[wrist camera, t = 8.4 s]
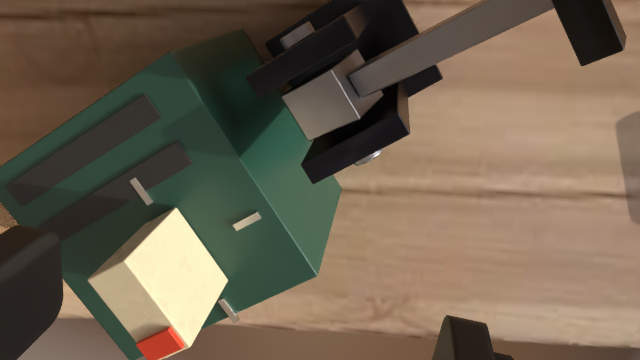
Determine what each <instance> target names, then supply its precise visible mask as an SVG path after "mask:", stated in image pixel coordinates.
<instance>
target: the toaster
mask: <svg viewBox="0 0 640 360" xmlns="http://www.w3.org/2000/svg"><path fill="white" fill-rule="evenodd" d="M263 65H264V63H263V61H262V59H261V58H260V56H259V55H258V53H257V51H256V50H255V48H254V46H253V45H252V43H251V42H250V40H249V38H248V37H247V35H246V34H245V32H244V30H243V29H239V30H236V31H233V32H230V33H227V34H223V35H220V36H217V37H214V38H211V39H208V40H205V41H201V42H198V43H195V44H192V45H189V46H186V47H183V48H179V49H176V50H173V51H170V52H168V53H166V54H165V55H163V56H162V57H160V58H159V59H157V60H156V61H154V62H153V63H151V64H150V65H148V66H147V67H146V68H144V69H143V70H141V71H140V72H138V73H137V74H135V75H134V76H132V77H131V78H129V79H128V80H126V81H125V82H124V83H122V84H121V85H119V86H118V87H116V88H115V89H113V90H112V91H110V92H109V93H107V94H106V95H104V96H103V97H102V98H100V99H99V100H97V101H96V102H94V103H93V104H91V105H90V106H88V107H87V108H85V109H84V110H83V111H81V112H80V113H78V114H77V115H75V116H74V117H72V118H71V119H69V120H68V121H66V122H65V123H63V124H62V125H61V126H59V127H58V128H56V129H55V130H53V131H52V132H50V133H49V134H47V135H46V136H44V137H43V138H41V139H40V140H39V141H37V142H36V143H34V144H33V145H31V146H30V147H28V148H27V149H25V150H24V151H22V152H21V153H19V154H18V155H17V156H15V157H14V158H12V159H11V160H9V161H8V162H6V163H5V164H3V165H2V166H0V202H1V203H2V204H3V206H4V207H5V208H6V209H7V211H8V212H9V213H10V214H11V215H12V217H13V218H14V219H15V220H16V222H17V223H18V224H19V225H22V226H27V227H32V228H37V229H39V228H38V226H39V225H41V224H42V223H44V222H46V221H47V220H49V219H51V218H52V217H54V216H55V215H57V214H59V213H60V212H62V211H64V210H65V209H67V208H69V207H70V206H72V205H73V204H75V203H77V202H78V201H80V200H82V199H83V198H85V197H87V196H88V195H90V194H91V193H93V192H95V191H96V190H98V189H100V188H101V187H103V186H105V185H106V184H108V183H110V182H111V181H113V180H114V179H116V178H118V177H119V176H121V175H123V174H124V173H126V172H128V171H129V170H131V169H132V168H134V167H136V166H137V165H139V164H141V163H142V162H144V161H146V160H147V159H149V158H150V157H152V156H154V155H155V154H157V153H159V152H160V151H162V150H164V149H165V148H167V147H168V146H170V145H172V144H173V143H175V142H177V141H179V143H180V144H181V146H182V147H183V148H184V150H185V151H186V153H187V154H188V156H189V157H190V159H191V160H192V161H193V164H192V165H190V166H188V167H187V168H185V169H183V170H182V171H180V172H178V173H177V174H175V175H173V176H171V177H170V178H168V179H166V180H165V181H163V182H161V183H159V184H158V185H156V186H154V187H153V188H151V189H149V190H148V191H145V190H144V189H143V187H142V186H141V184H140V183H139V182H138V180H137V179H136V178H133V179H132V180H130V183H131V184H132V185H133V187H134V188H135V190H136V191H137V192H138V194H139V196H137V197H136V198H134V199H132V200H130V201H129V202H127V203H125V204H124V205H122V206H120V207H119V208H117V209H115V210H113V211H112V212H110V213H108V214H107V215H105V216H103V217H101V218H100V219H98V220H96V221H95V222H93V223H91V224H90V225H88V226H86V227H84V228H83V229H81V230H79V231H78V232H76V233H74V234H72V235H71V236H69V237H67V238H66V239H64V240H62V241H61V242H60V244H61V262H62V278H63V279H64V281H65V282H66V283H67V284H68V285H69V287H70V288H71V289H72V290H73V292H74V293H75V294H76V295H77V296H78V298H79V299H80V300H81V301H82V303H83V304H84V305H85V306H86V308H87V309H88V310H89V311H90V312H91V314H92V315H93V316H94V317H95V319H96V320H97V321H98V322H99V323H100V325H101V326H102V327H103V328H104V330H105V331H106V332H107V333H108V335H109V336H110V337H111V338H112V339H113V341H114V342H115V343H116V344H117V345H118V347H119V348H120V349H121V350H122V352H123V353H124V354H125V355H126V357H127V358H128V359H129V360H136V359H138V358H140V357H142V356H144V355H143V353H142V352H141V351H140V350H139V348H138V347H137V346H136V341H135V340H134V339H133V337H132V336H131V335H130V334H129V332H128V331H127V330H126V329H125V327H124V326H123V325H122V324H121V322H120V321H119V320H118V319H117V317H116V316H115V315H114V314H113V312H112V311H111V310H110V308H109V307H108V306H107V305H106V303H105V302H104V301H103V300H102V298H101V297H100V296H99V295H98V293H97V292H96V291H95V290H94V288H93V287H92V286H91V285H90V283H89V282H88V278H89V277H90V276H91V275H92V274H93V273H94V272H95V271H97V270H98V269H99V268H100V267H101V266H102V265H103V264H104V263H105V262H106V261H107V260H108V259H109V258H110V257H111V256H112V255H113V254H114V253H115V252H116V251H117V250H118V249H119V248H120V247H121V246H122V245H124V244H125V243H126V242H127V241H128V240H129V239H130V238H131V237H132V236H133V235H134V234H135V233H136V232H137V231H138V230H139V229H140V228H141V227H142V226H143V225H144V224H146V223H148V222H149V221H151V220H153V219H155V218H157V217H158V216H160V215H162V214H164V213H166V212H167V211H169V210H171V209H173V208H175V207H176V208H177V209H178V210H179V212H180V213H181V214H182V216H183V217H184V219H185V220H186V221H187V223H188V224H189V226H190V227H191V228H192V230H193V231H194V233H195V234H196V235H197V237H198V238H199V240H200V241H201V243H202V244H203V245H204V247H205V248H206V250H207V251H208V252H209V254H210V255H211V257H212V258H213V259H214V261H215V262H216V264H217V265H218V266H219V268H220V269H221V271H222V272H223V274H224V275H225V276H226V278H227V279H228V282H227V283H226V285H225V287H224V289H223V290H222V292H221V294H220V296H219V297H218V299H217V301H216V303H215V304H214V306H213V308H212V310H211V311H210V313H209V315H208V317H207V318H206V320H205V322H204V324H203V325H202V327H201V329H203V328H205V327H207V326H210V325H212V324H214V323H216V322H218V321H220V320H223V319H225V318H227V317H229V318H230V319H231V320H232V322H233V323H234V322H236V321H238V320H239V319H240V318H239V317H238V315H237V314H236V313H238V312H240V311H242V310H244V309H247V308H249V307H251V306H253V305H255V304H257V303H260V302H262V301H264V300H266V299H268V298H270V297H273V296H275V295H277V294H279V293H281V292H283V291H286V290H288V289H290V288H292V287H294V286H297V285H299V284H301V283H303V282H305V281H307V280H310V279H312V278H314V277H316V276H317V275H318V273H319V269H320V265H321V262H322V258H323V255H324V251H325V247H326V244H327V240H328V236H329V233H330V229H331V226H332V222H333V218H334V215H335V211H336V208H337V204H338V200H339V197H340V193H341V190H342V189H341V187H340V185H339V184H338V182H337V181H336V179H335V177H334V176H333V175H331V176H329V177H327V178H325V179H323V180H321V181H319V182H318V183H316V184H312V183H311V181H310V179H309V178H308V176H307V175H306V173H305V172H304V170H303V168H302V167H301V163H302V161H303V159H304V157H305V155H306V154H307V152H308V150H309V148H310V146H311V144H312V140H311V141H308V139H307V137H306V136H305V134H304V133H303V131H302V129H301V128H300V126H299V125H298V123H297V121H296V120H295V118H294V117H293V115H292V113H291V112H290V110H289V108H288V107H287V105H286V104H285V102H284V100H283V99H282V95H283V93H282V92H281V90H280V88H277V89H276V90H274V91H272V92H271V93H269V94H267V95H266V96H264V97H262V98H261V99H259V98H258V97H257V96H256V94H255V93H254V91H253V89H252V88H251V86H250V85H249V83H248V82H247V80H246V76H247V75H249V74H250V73H252V72H253V71H255V70H256V69H258V68H260V67H261V66H263ZM144 94H146V95H147V96H148V98H149V99H150V101H151V102H152V104H153V105H154V106H155V108H156V109H157V111H158V112H159V114H160V115H161V117H162V118H161V119H159V120H157V121H156V122H154V123H153V124H151V125H150V126H148V127H146V128H145V129H143V130H142V131H140V132H139V133H137V134H135V135H134V136H132V137H131V138H129V139H128V140H126V141H124V142H123V143H121V144H120V145H118V146H116V147H115V148H113V149H112V150H110V151H109V152H107V153H105V154H104V155H102V156H101V157H99V158H98V159H96V160H94V161H93V162H91V163H90V164H88V165H87V166H85V167H83V168H82V169H80V170H79V171H77V172H76V173H74V174H72V175H71V176H69V177H68V178H66V179H65V180H63V181H61V182H60V183H58V184H57V185H55V186H54V187H52V188H50V189H49V190H47V191H46V192H44V193H43V194H41V195H39V196H38V197H36V198H35V199H33V200H32V201H30V202H28V203H27V204H25V205H24V206H21V205H20V204H19V203H18V201H17V200H16V199H15V198H14V196H13V195H12V194H11V193H10V191H9V190H8V189H7V188H6V186H7V185H8V184H10V183H11V182H13V181H14V180H16V179H17V178H19V177H20V176H22V175H24V174H25V173H27V172H28V171H30V170H31V169H33V168H34V167H36V166H37V165H39V164H40V163H42V162H43V161H45V160H46V159H48V158H49V157H51V156H52V155H54V154H55V153H57V152H58V151H60V150H61V149H63V148H64V147H66V146H67V145H69V144H70V143H72V142H73V141H75V140H76V139H78V138H79V137H81V136H82V135H84V134H85V133H87V132H88V131H90V130H91V129H93V128H95V127H96V126H98V125H99V124H101V123H102V122H104V121H105V120H107V119H108V118H110V117H111V116H113V115H114V114H116V113H117V112H119V111H120V110H122V109H123V108H125V107H126V106H128V105H129V104H131V103H132V102H134V101H135V100H137V99H138V98H140V97H141V96H143V95H144ZM201 329H200V330H201Z"/></svg>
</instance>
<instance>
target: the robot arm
mask: <svg viewBox="0 0 640 360" xmlns="http://www.w3.org/2000/svg"><path fill="white" fill-rule="evenodd" d="M62 301H63V281H62V262H61V244H60V239H59V236H58V235H57V234H56V233H55V232H51V231H46V230H41V229H37V228H32V227H27V226H22V225H16V226H13V227H11V228H10V229H8V230H7V231H5V232H3V233H2V234H0V360H17V359H18V358H19V357H20V356H21V355H22V354H23V353H24V352H25V351H26V350H27V349H28V348H29V347H30V346H31V345H32V344H33V343H34V342H35V341H36V340H37V339H38V338H39V337H40V336H41V335H42V334H43V333H44V332H45V331H46V330H47V329H48V328H49V327H50V326H51V324H52V323H53V322H54V321H55V319H56V317H57V316H58V314H59V311H60V309H61V306H62ZM432 360H514V359H513V358H512V357H511V356H509V355H504V354H499V353H495V352H493V348H492V344H491V339H490V335H489V331H488V327H487V325H486V324H485V323H482V322H477V321H473V320H468V319H463V318H458V317H454V316H449V315H447V316H446V317H445V318H444V320H443V323H442V326H441V330H440V333H439V337H438V340H437V344H436V347H435V351H434V355H433V358H432Z"/></svg>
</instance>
